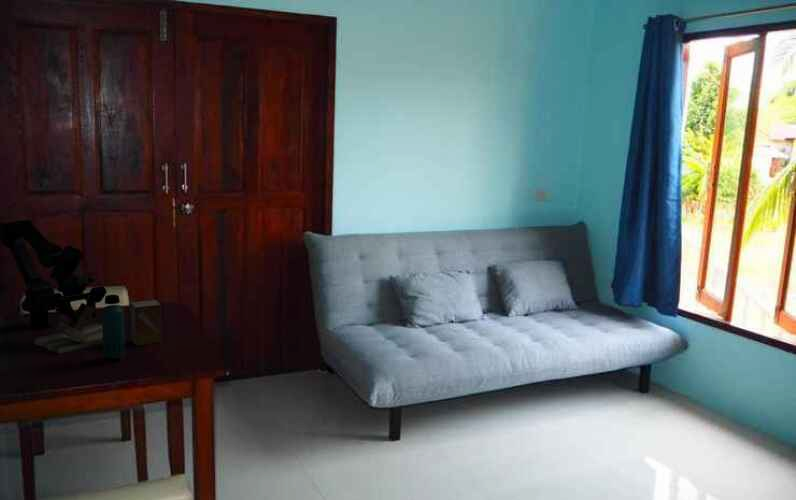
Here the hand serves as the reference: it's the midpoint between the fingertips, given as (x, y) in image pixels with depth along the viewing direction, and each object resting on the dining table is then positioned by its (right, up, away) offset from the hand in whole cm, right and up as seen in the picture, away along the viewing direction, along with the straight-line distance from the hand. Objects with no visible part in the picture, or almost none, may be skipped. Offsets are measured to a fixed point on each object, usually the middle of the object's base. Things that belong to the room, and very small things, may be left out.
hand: (86, 319), depth 220 cm
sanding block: (-4, -5, -1) cm, 7 cm away
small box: (+17, -8, +7) cm, 20 cm away
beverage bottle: (+13, -11, -10) cm, 20 cm away
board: (-5, -7, +6) cm, 10 cm away
